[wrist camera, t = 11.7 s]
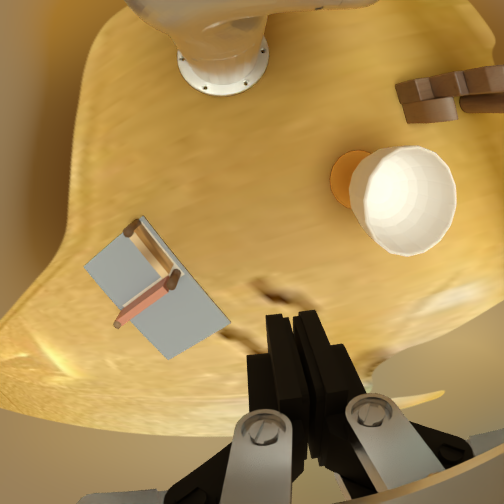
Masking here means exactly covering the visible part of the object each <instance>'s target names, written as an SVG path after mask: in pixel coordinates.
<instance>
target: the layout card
mask: <svg viewBox="0 0 504 504" xmlns="http://www.w3.org/2000/svg"><path fill="white" fill-rule="evenodd" d="M139 220H140V221H141V223H142V225H143V226H144V227H145V229H146V230H147V231H148V232H149V234H150V235H151V236H152V238H153V239H154V240H155V241H156V243H157V244H158V245H159V246H160V248H161V249H162V250H163V251H164V253H165V254H166V255H167V256H168V257H169V259H170V260H171V261H172V262H173V264H174V265H173V267H172V269H171V271H170V273H169V275H167V276H169V277H170V275H171V273H172V271H173V270H174V269H179V270H180V271H181V276H180V278H179V281H178V283H177V286H176V288H175V289H174V290H169V292H168V293H167V294H165V295H164V296H163V297H161V298H160V299H158V300H157V301H156V302H154V303H153V304H151V305H150V306H149V307H147V308H146V309H145V310H143V311H142V312H140V313H139V314H138V315H136V316H135V317H133V318H132V319H131V320H130V321H131V322H132V323H133V324H134V326H135V327H136V328H137V329H138V330H139V331H140V332H141V333H142V334H143V335H144V336H145V337H146V338H147V339H148V340H149V341H150V342H151V343H152V344H153V345H154V346H155V347H156V348H157V349H158V350H159V351H160V352H161V353H162V354H163V355H164V356H165V357H166V358H167V359H168V360H169V359H171V358H173V357H175V356H176V355H178V354H180V353H181V352H183V351H185V350H187V349H188V348H190V347H192V346H193V345H195V344H197V343H198V342H200V341H202V340H203V339H205V338H207V337H208V336H210V335H212V334H213V333H215V332H217V331H218V330H220V329H222V328H223V327H225V326H227V325H228V324H230V323H231V322H230V320H229V319H228V318H227V317H226V316H225V315H224V313H223V312H222V311H221V310H220V309H219V308H218V306H217V305H216V304H215V303H214V302H213V301H212V299H211V298H210V297H209V296H208V295H207V294H206V292H205V291H204V290H203V289H202V288H201V286H200V285H199V284H198V283H197V282H196V280H195V279H194V278H193V277H192V276H191V274H190V273H189V272H188V271H187V270H186V268H185V267H184V266H183V265H182V263H181V262H180V261H179V260H178V258H177V257H176V256H175V255H174V254H173V252H172V251H171V250H170V249H169V247H168V246H167V245H166V244H165V242H164V241H163V240H162V239H161V237H160V236H159V235H158V233H157V232H156V231H155V230H154V228H153V227H152V226H151V225H150V223H149V222H148V221H147V219H146V218H145V217H144V216H142V217H141V218H140V219H139ZM84 268H85V269H86V270H87V272H88V273H89V274H90V275H91V277H92V278H93V279H94V280H95V281H96V283H97V284H98V285H99V286H100V287H101V289H102V290H103V291H104V292H105V293H106V294H107V295H108V297H109V298H110V299H111V300H112V301H113V302H114V304H115V305H116V306H117V307H118V308H119V309H120V310H122V309H123V308H125V307H126V306H127V305H129V304H130V303H131V302H133V301H134V300H135V299H137V298H138V297H139V296H141V295H142V294H143V293H145V292H146V291H147V290H149V289H150V288H151V287H153V286H154V285H155V284H157V283H158V282H159V281H161V280H162V278H161V276H160V275H159V274H158V273H157V272H156V270H155V269H154V268H153V267H152V266H151V264H150V263H149V262H148V261H147V260H146V258H145V257H144V256H143V255H142V253H141V252H140V251H139V250H138V248H137V247H136V246H135V245H134V243H133V242H132V241H131V240H130V238H127V237H125V236H124V235H123V233H122V234H120V235H119V236H118V237H117V238H116V239H115V240H113V241H112V242H111V243H110V244H109V245H108V246H106V247H105V248H104V249H103V250H102V251H101V252H100V253H98V254H97V255H96V256H95V257H94V258H93V259H92V260H91V261H89V262H88V263H87V264H86V265H85V266H84Z"/></svg>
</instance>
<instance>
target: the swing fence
mask: <svg viewBox="0 0 504 504" xmlns="http://www.w3.org/2000/svg"><path fill="white" fill-rule="evenodd" d="M169 278H170V277H169V276H166V277H165V278H163V279H162V280H161V281H159V282H158V283H157V284H155V285H154V286H153V287H151V288H150V289H149V290H147V291H146V292H145V293H143V294H142V295H141V296H139V297H138V298H137V299H135V300H134V301H133V302H131V303H130V304H129V305H127V306H126V307H125V308H123V309H122V310H121V312H120V313H119V315H118V317H117V318H116V320H115V322H114V324H113V325H114V327H115V328H117V329H119V328H120V327H121V326H122V325H124V324H125V323H126V322H128V321H129V320H131V319H132V318H133V317H135V316H136V315H138V314H139V313H140V312H142V311H143V310H145V309H146V308H147V307H149V306H150V305H151V304H153V303H154V302H156V301H157V300H158V299H160V298H161V297H163V296H164V295H165V294H167V293H168V292H169V289H168V288H167V286H166V284H167V282H168V280H169Z"/></svg>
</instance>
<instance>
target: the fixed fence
mask: <svg viewBox="0 0 504 504" xmlns="http://www.w3.org/2000/svg"><path fill="white" fill-rule="evenodd" d="M123 235H124V236H125V237H127V238H130V240H131V241H132V242H133V243H134V245H135V246H136V247H137V248H138V250H139V251H140V252H141V253H142V255H143V256H144V257H145V258H146V260H147V261H148V262H149V263H150V264H151V266H152V267H153V268H154V269H155V270H156V272H157V273H158V274H159V275H160V276H161V278H162V279H163V278H165V277H166V276H167V275H169V273H170V271H171V269H172V267H173V265H174V264H173V262H172V261H171V260H170V259H169V257H168V256H167V255H166V254H165V253H164V251H163V250H162V249H161V248H160V246H159V245H158V244H157V243H156V241H155V240H154V239H153V238H152V236H151V235H150V234H149V232H148V231H147V230H146V229H145V227H144V226H143V225H142V223H141V221H140V220H134V221H133V222H132V223H131V224H130V225H128V226H127V227H126V228H125V229H124V230H123ZM180 276H181V271H180V270H179V269H174V270H173V271H172V273H171V275H170V278H169V280H168V282H167V284H166V286H167V288H168V289H169V290H174V289H175V288H176V286H177V283H178V281H179V278H180Z"/></svg>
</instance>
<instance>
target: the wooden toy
mask: <svg viewBox="0 0 504 504" xmlns="http://www.w3.org/2000/svg"><path fill="white" fill-rule="evenodd" d="M395 87H396V90H397V94H398V97H399V100H400V103H401V104H402V106H403V110H404V113H405V117H406V121H407V123H435V122H444V121H452V120H458V115H457V111H456V107H455V103H454V99H453V97H455V96H462V97H461V99H460V106H461V108H462V110H463V111H464V112H466V113H504V65H495V66H486V67H480V68H474V69H469V70H465V71H454V72H450V73H445V74H440V75H436V76H432V77H426V78H419V79H413V80H410V81H406V82H402V83H399V84H396V85H395Z"/></svg>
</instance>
